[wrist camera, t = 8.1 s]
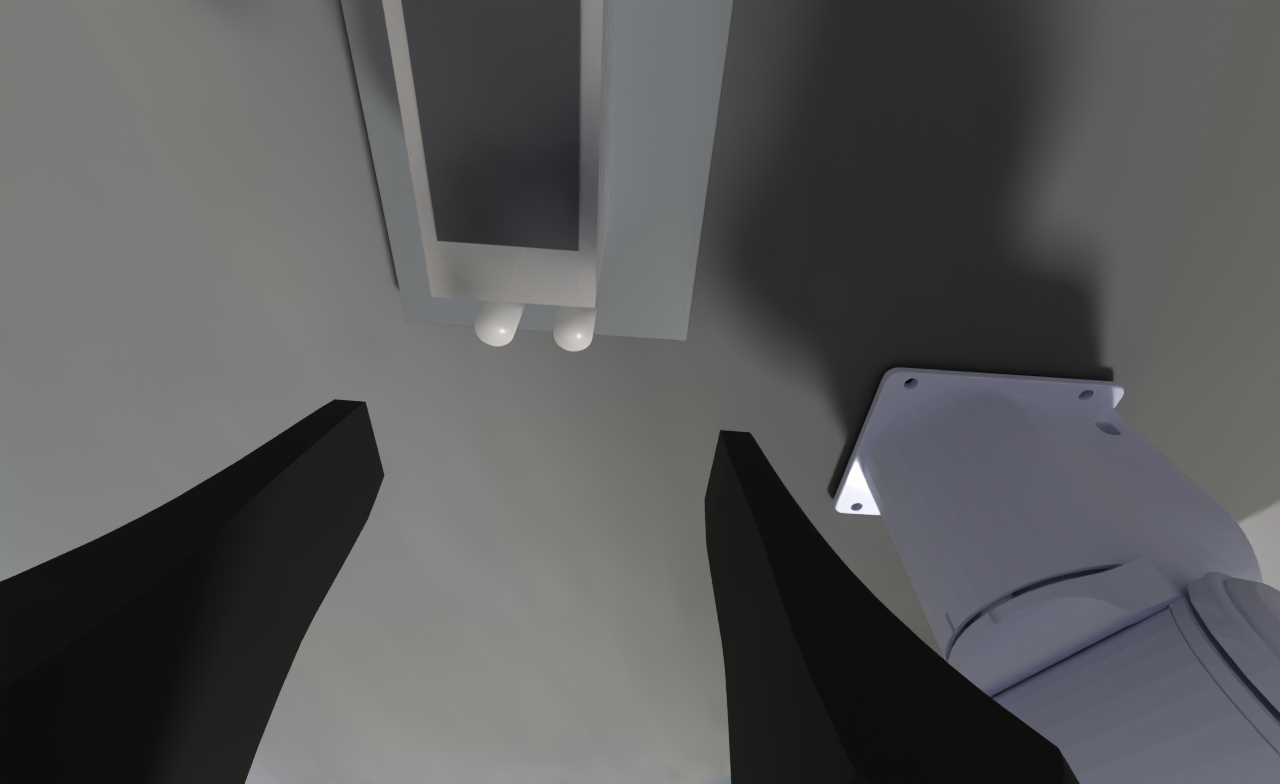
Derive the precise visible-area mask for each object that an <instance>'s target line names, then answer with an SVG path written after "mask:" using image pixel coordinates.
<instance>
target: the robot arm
mask: <svg viewBox="0 0 1280 784" xmlns="http://www.w3.org/2000/svg"><path fill="white" fill-rule="evenodd" d="M912 378H914V379H913V380H912V381H911V382H909V383H906V384H904V383H905V382H906V381H907V380H908V379H912ZM1082 392H1083V393H1082ZM1123 394H1124V389H1123V388H1122V387H1121V386H1120V385H1118V384H1117V383H1116V382H1112V381H1097V380H1082V379H1067V378H1052V377H1037V376H1022V375H1007V374H992V373H977V372H962V371H947V370H932V369H917V368H902V367H898V368H893V369H890V370H889V371H887V372H886V373H885V374H884V376H883V378H882V380H881V383H880V385H879V388H878V390H877V393H876V395H875V398H874V400H873V402H872V405H871V407H870V410H869V412H868V415H867V417H866V420H865V422H864V425H863V427H862V430H861V432H860V435H859V437H858V440H857V442H856V445H855V447H854V450H853V452H852V455H851V457H850V460H849V462H848V465H847V467H846V470H845V472H844V475H843V477H842V480H841V482H840V485H839V487H838V490H837V492H836V495H835V497H834V500H833V504H834V507H835V509H836V511H838V512H841V513H854V514H871V515H881V517H882V519H883V521H884V524H885V526H886V528H887V530H888V533H889V535H890V537H891V539H892V542H893V544H894V546H895V548H896V551H897V553H898V555H899V557H900V560H901V562H902V564H903V566H904V569H905V571H906V573H907V575H908V578H909V580H910V582H911V584H912V587H913V589H914V591H915V593H916V596H917V598H918V600H919V602H920V605H921V607H922V609H923V611H924V614H925V616H926V618H927V620H928V623H929V625H930V627H931V629H932V632H933V634H934V636H935V638H936V641H937V643H938V645H939V647H940V650H941V652H942V654H943V656H944V659H945V660H944V659H943V658H942V657H940V656H939V655H938V654H937V653H936V652H935V651H933V650H932V649H931V648H930V647H929V646H928V645H927V644H925V643H924V642H923V641H922V640H921V639H920V638H919V637H918V636H917V635H916V634H915V633H913V632H912V631H911V630H910V629H909V628H908V627H907V626H906V625H905V624H904V623H903V622H902V621H900V620H899V619H898V618H897V617H896V616H895V615H894V614H893V613H892V612H891V611H890V610H889V609H888V608H887V607H886V606H885V605H884V604H883V603H882V602H881V601H879V600H878V599H877V598H876V597H875V596H874V595H873V594H872V592H871V591H870V590H869V589H868V588H867V587H866V586H865V585H864V584H863V583H862V582H861V581H860V580H859V579H858V578H857V577H856V575H855V574H854V573H853V572H852V571H851V570H850V569H849V568H848V567H847V566H846V564H845V563H844V562H843V561H842V560H841V559H840V557H839V556H838V555H837V554H836V553H835V552H834V550H833V549H832V548H831V547H830V545H829V544H828V543H827V542H826V540H825V539H824V538H823V537H822V536H821V534H820V533H819V532H818V531H817V529H816V528H815V527H814V525H813V524H812V523H811V521H810V520H809V519H808V518H807V516H806V515H805V513H804V512H803V511H802V509H801V508H800V507H799V505H798V504H797V502H796V501H795V500H794V498H793V497H792V495H791V494H790V493H789V491H788V490H787V488H786V487H785V485H784V484H783V482H782V481H781V479H780V478H779V476H778V475H777V473H776V472H775V470H774V469H773V467H772V466H771V464H770V463H769V461H768V460H767V458H766V456H765V455H764V453H763V452H762V450H761V448H760V447H759V445H758V444H757V442H756V440H755V439H754V437H753V436H752V435H751V434H750V432H737V431H725V430H720V434H719V438H718V443H717V447H716V451H715V456H714V460H713V465H712V469H711V474H710V478H709V482H708V487H707V491H706V496H705V526H706V545H707V552H708V558H709V565H710V571H711V578H712V584H713V590H714V597H715V603H716V609H717V616H718V622H719V628H720V634H721V641H722V648H723V656H724V665H725V677H726V693H727V709H728V726H729V746H730V766H731V784H1280V591H1278V590H1276V589H1274V588H1273V587H1271V586H1268V585H1266V584H1263V582H1262V577H1261V571H1260V568H1259V565H1258V561H1257V558H1256V556H1255V553H1254V551H1253V549H1252V546H1251V544H1250V542H1249V541H1248V539H1247V537H1246V535H1245V534H1244V532H1243V531H1242V529H1241V528H1240V526H1239V525H1238V524H1237V522H1236V521H1235V520H1234V519H1233V518H1232V517H1231V516H1230V515H1229V513H1228V512H1227V511H1225V510H1224V509H1223V508H1222V507H1221V506H1220V505H1219V504H1218V503H1217V502H1216V501H1215V500H1213V499H1212V498H1211V497H1210V496H1209V495H1208V494H1207V493H1206V492H1205V491H1203V490H1202V489H1201V488H1200V487H1199V486H1198V485H1197V484H1196V483H1195V482H1193V481H1192V480H1191V479H1190V478H1189V477H1188V476H1187V475H1186V474H1185V473H1183V472H1182V471H1181V470H1180V469H1179V468H1178V467H1177V466H1176V465H1175V464H1173V463H1172V462H1171V461H1170V460H1169V459H1168V458H1167V457H1166V456H1165V455H1163V454H1162V453H1161V452H1160V451H1159V450H1158V449H1157V448H1156V447H1155V446H1153V445H1152V444H1151V443H1150V442H1149V441H1148V440H1147V439H1146V438H1145V437H1143V436H1142V435H1141V434H1140V433H1139V432H1138V431H1137V430H1136V429H1135V428H1133V427H1132V426H1131V425H1130V424H1129V423H1128V422H1127V421H1126V420H1125V419H1123V418H1122V417H1121V416H1120V415H1119V414H1118V413H1117V412H1116V411H1115V410H1113V409H1114V408H1115V406H1116V405H1117V404H1118V402H1119V401H1120V399H1121V398H1122V396H1123ZM383 478H384V472H383V468H382V464H381V460H380V456H379V452H378V448H377V445H376V441H375V437H374V433H373V429H372V425H371V421H370V417H369V413H368V409H367V405H366V402H361V401H349V400H336V399H335V400H333V401H331V402H330V403H328V404H326V405H324V406H323V407H321V408H320V409H318V410H316V411H315V412H313V413H312V414H310V415H309V416H307V417H305V418H304V419H302V420H301V421H299V422H298V423H296V424H295V425H293V426H292V427H290V428H289V429H287V430H285V431H284V432H282V433H281V434H279V435H278V436H276V437H275V438H273V439H272V440H270V441H268V442H267V443H265V444H264V445H262V446H261V447H259V448H258V449H256V450H254V451H253V452H251V453H250V454H248V455H247V456H245V457H244V458H242V459H240V460H239V461H237V462H236V463H234V464H232V465H231V466H229V467H227V468H226V469H224V470H222V471H221V472H219V473H217V474H216V475H214V476H212V477H210V478H209V479H207V480H205V481H204V482H202V483H200V484H199V485H197V486H195V487H194V488H192V489H190V490H189V491H187V492H185V493H183V494H182V495H180V496H178V497H177V498H175V499H173V500H171V501H169V502H168V503H166V504H164V505H162V506H160V507H158V508H157V509H155V510H153V511H151V512H149V513H147V514H145V515H143V516H142V517H140V518H138V519H136V520H134V521H132V522H130V523H128V524H126V525H124V526H122V527H120V528H118V529H116V530H114V531H112V532H110V533H108V534H106V535H104V536H102V537H100V538H98V539H95V540H93V541H91V542H89V543H87V544H85V545H82V546H80V547H78V548H76V549H73V550H71V551H69V552H67V553H65V554H62V555H60V556H58V557H56V558H53V559H51V560H49V561H47V562H44V563H42V564H40V565H38V566H35V567H33V568H31V569H29V570H27V571H24V572H22V573H20V574H18V575H15V576H13V577H10V578H8V579H6V580H3V581H1V582H0V784H245V781H246V778H247V776H248V773H249V770H250V768H251V765H252V762H253V759H254V757H255V754H256V751H257V748H258V746H259V743H260V741H261V738H262V736H263V733H264V731H265V728H266V726H267V723H268V721H269V718H270V716H271V713H272V711H273V708H274V706H275V703H276V700H277V698H278V695H279V693H280V691H281V688H282V686H283V684H284V681H285V679H286V677H287V674H288V672H289V670H290V667H291V665H292V663H293V660H294V658H295V656H296V653H297V651H298V649H299V646H300V644H301V642H302V640H303V638H304V636H305V634H306V632H307V630H308V628H309V626H310V624H311V622H312V620H313V618H314V616H315V614H316V612H317V611H318V609H319V607H320V605H321V603H322V602H323V600H324V598H325V596H326V594H327V593H328V591H329V589H330V587H331V585H332V584H333V582H334V580H335V578H336V576H337V575H338V573H339V571H340V569H341V567H342V566H343V564H344V562H345V560H346V558H347V557H348V555H349V553H350V551H351V549H352V547H353V546H354V544H355V542H356V540H357V538H358V536H359V535H360V533H361V531H362V529H363V527H364V525H365V523H366V521H367V520H368V517H369V515H370V512H371V510H372V507H373V505H374V502H375V500H376V497H377V494H378V491H379V489H380V486H381V483H382V480H383ZM855 503H857V504H855Z"/></svg>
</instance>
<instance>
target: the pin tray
mask: <svg viewBox="0 0 1280 784" xmlns="http://www.w3.org/2000/svg"><path fill="white" fill-rule="evenodd" d="M341 4H342V9H343V14H344V19H345V24H346V29H347V34H348V39H349V43H350V48H351V53H352V58H353V63H354V68H355V73H356V78H357V83H358V88H359V93H360V98H361V103H362V108H363V112H364V117H365V122H366V127H367V132H368V137H369V142H370V147H371V152H372V157H373V162H374V167H375V172H376V176H377V181H378V186H379V191H380V196H381V201H382V206H383V211H384V216H385V221H386V226H387V231H388V236H389V240H390V245H391V250H392V255H393V260H394V265H395V270H396V275H397V280H398V285H399V290H400V295H401V300H402V304H403V309H404V314H405V319H406V322H419V323H434V324H449V325H463V326H475V331H476V334H477V336H478V337H479V338H480V339H481V340H482V341H483V342H485V343H486V344H489V345H492V346H503V345H506V344H508V343H509V342H510V341H511V340H512V338H513V336H514V334H515V331H516V329H523V330H538V331H553V334H554V339H555V341H556V342H557V344H558V345H559V346H560V347H562V348H563V349H565V350H568V351H581V350H583V349H585V348H587V347H588V346H589V345H590V343H591V341H592V337H593V334H597V335H612V336H627V337H642V338H657V339H672V340H686V336H687V329H688V322H689V315H690V307H691V300H692V293H693V286H694V279H695V271H696V264H697V257H698V250H699V243H700V236H701V228H702V221H703V214H704V207H705V200H706V192H707V185H708V178H709V171H710V164H711V157H712V149H713V142H714V135H715V128H716V121H717V114H718V106H719V99H720V92H721V85H722V78H723V70H724V63H725V56H726V49H727V42H728V35H729V27H730V20H731V13H732V6H733V0H616V10H615V37H614V64H613V91H612V118H611V146H610V173H609V200H608V227H607V239H606V245H605V252H604V258H603V264H602V270H601V276H600V282H599V288H598V294H597V300H596V306H595V308H587V307H572V306H558V305H543V304H529V303H514V302H500V301H485V300H471V299H456V298H442V297H432V296H431V290H430V284H429V278H428V272H427V266H426V260H425V254H424V248H423V242H422V236H421V230H420V224H419V218H418V212H417V206H416V200H415V194H414V188H413V182H412V176H411V170H410V164H409V158H408V152H407V146H406V140H405V134H404V128H403V122H402V116H401V110H400V104H399V98H398V92H397V86H396V80H395V74H394V68H393V62H392V56H391V50H390V44H389V38H388V32H387V26H386V20H385V14H384V8H383V2H382V0H341Z"/></svg>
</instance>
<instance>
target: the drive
mask: <svg viewBox="0 0 1280 784" xmlns="http://www.w3.org/2000/svg"><path fill="white" fill-rule="evenodd" d="M382 2H383V8H384V14H385V20H386V26H387V32H388V38H389V44H390V50H391V56H392V62H393V68H394V74H395V80H396V86H397V92H398V98H399V104H400V110H401V116H402V122H403V128H404V134H405V140H406V146H407V152H408V158H409V164H410V170H411V176H412V182H413V188H414V194H415V200H416V206H417V212H418V218H419V224H420V230H421V236H422V242H423V248H424V254H425V260H426V266H427V272H428V278H429V284H430V290H431V296H432V297H442V298H456V299H471V300H485V301H500V302H514V303H529V304H543V305H558V306H572V307H587V308H595V306H596V300H597V294H598V288H599V282H600V276H601V270H602V264H603V258H604V252H605V245H606V239H607V227H608V200H609V173H610V146H611V118H612V91H613V64H614V37H615V10H616V0H382Z"/></svg>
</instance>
